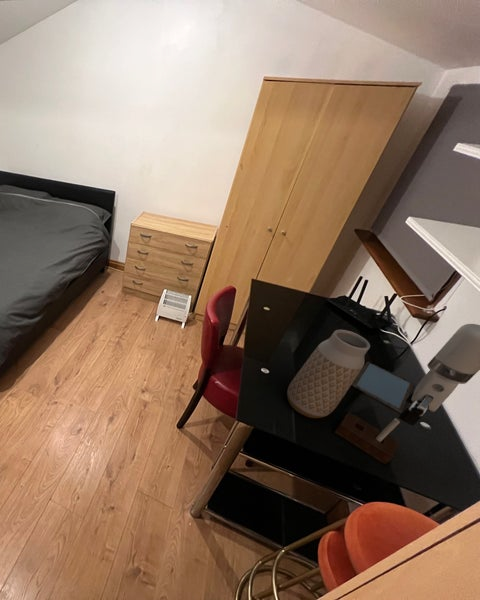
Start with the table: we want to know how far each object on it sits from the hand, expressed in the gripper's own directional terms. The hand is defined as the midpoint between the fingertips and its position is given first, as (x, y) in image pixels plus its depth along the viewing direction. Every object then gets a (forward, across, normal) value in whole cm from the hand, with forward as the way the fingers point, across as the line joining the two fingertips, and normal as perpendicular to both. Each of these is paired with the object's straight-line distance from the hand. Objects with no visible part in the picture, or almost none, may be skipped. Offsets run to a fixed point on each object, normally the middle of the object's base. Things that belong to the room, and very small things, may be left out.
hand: (409, 412), depth 91 cm
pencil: (+17, 0, +1) cm, 17 cm away
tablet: (+17, +36, +5) cm, 40 cm away
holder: (+17, 0, +3) cm, 17 cm away
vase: (+17, -1, +20) cm, 27 cm away
